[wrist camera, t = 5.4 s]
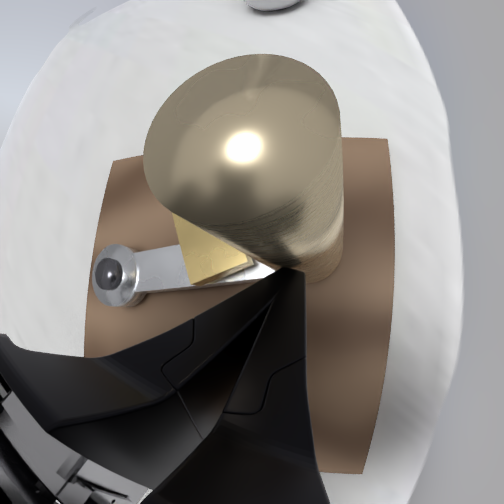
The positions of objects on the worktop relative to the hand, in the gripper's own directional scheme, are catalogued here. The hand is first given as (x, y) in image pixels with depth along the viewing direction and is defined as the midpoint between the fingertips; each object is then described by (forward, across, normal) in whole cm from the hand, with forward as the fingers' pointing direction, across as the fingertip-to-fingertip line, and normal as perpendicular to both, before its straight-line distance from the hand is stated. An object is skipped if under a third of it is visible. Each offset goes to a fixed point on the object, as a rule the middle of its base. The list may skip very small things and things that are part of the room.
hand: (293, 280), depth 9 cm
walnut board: (+4, +6, +7) cm, 10 cm away
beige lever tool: (+4, +6, +5) cm, 9 cm away
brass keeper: (+6, +6, +3) cm, 9 cm away
